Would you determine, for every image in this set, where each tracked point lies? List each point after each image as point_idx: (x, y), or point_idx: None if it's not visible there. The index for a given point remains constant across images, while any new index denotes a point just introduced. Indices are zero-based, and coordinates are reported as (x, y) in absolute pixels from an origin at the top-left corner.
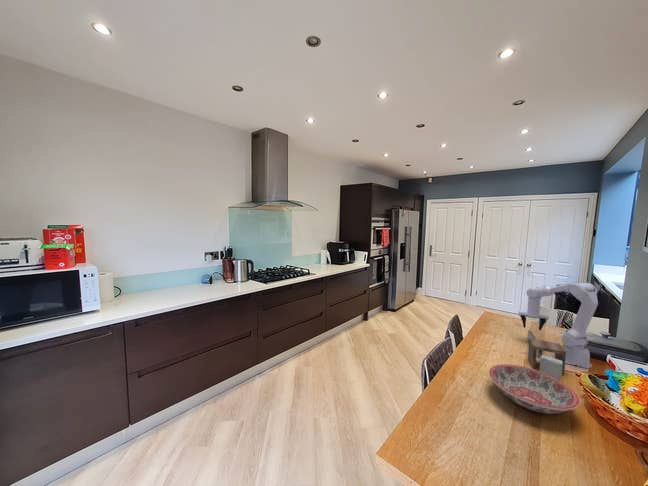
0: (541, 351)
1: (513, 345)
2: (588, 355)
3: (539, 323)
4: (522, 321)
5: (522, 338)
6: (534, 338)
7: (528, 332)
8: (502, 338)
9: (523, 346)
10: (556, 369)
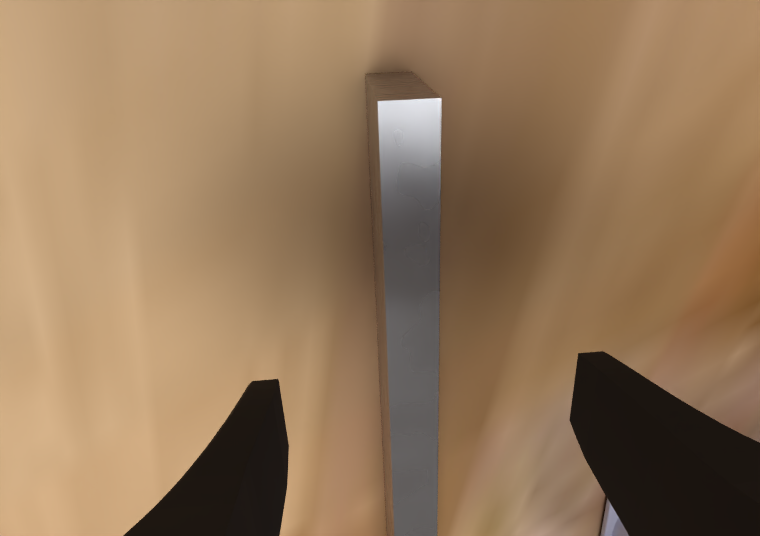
0: None
1: (175, 453)
2: None
3: (672, 456)
4: (188, 482)
5: (290, 113)
6: (417, 483)
7: (378, 175)
8: (11, 305)
9: (285, 417)
10: None
